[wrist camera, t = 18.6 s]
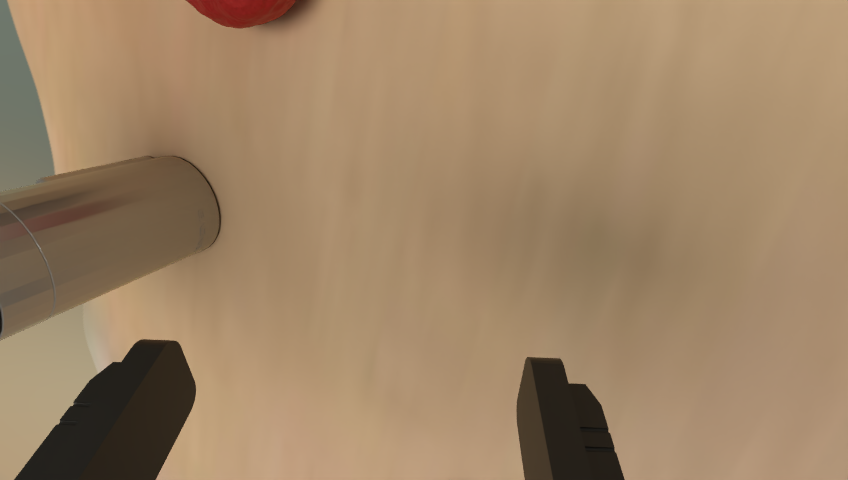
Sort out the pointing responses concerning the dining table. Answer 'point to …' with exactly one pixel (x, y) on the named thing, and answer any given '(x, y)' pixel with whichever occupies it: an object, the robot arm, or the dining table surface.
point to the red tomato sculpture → (242, 11)
